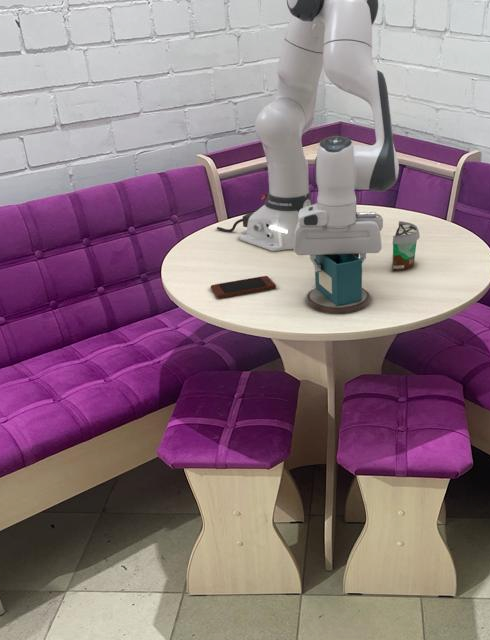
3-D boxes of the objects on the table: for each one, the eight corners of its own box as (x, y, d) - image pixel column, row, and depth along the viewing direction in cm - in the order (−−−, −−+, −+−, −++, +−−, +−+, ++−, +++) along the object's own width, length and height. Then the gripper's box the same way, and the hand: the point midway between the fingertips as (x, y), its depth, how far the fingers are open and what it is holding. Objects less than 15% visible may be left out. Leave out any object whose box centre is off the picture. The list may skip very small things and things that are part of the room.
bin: (339, 282, 184) (339, 243, 179) (361, 300, 175) (362, 260, 170) (315, 287, 182) (313, 248, 177) (336, 306, 172) (336, 265, 167)
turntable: (294, 305, 177) (294, 299, 176) (328, 283, 188) (328, 277, 187) (349, 319, 170) (349, 313, 170) (380, 295, 181) (380, 289, 180)
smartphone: (276, 284, 185) (217, 295, 180) (276, 288, 185) (217, 298, 180) (267, 274, 190) (209, 284, 186) (267, 278, 191) (210, 288, 186)
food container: (415, 275, 192) (417, 237, 187) (391, 273, 193) (392, 236, 188) (420, 257, 202) (422, 221, 197) (398, 256, 203) (399, 220, 198)
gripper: (382, 207, 171) (381, 264, 178) (292, 209, 171) (295, 266, 178) (384, 216, 165) (383, 274, 173) (291, 218, 165) (294, 277, 172)
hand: (338, 270), depth 175 cm, fingers open, 8 cm apart
